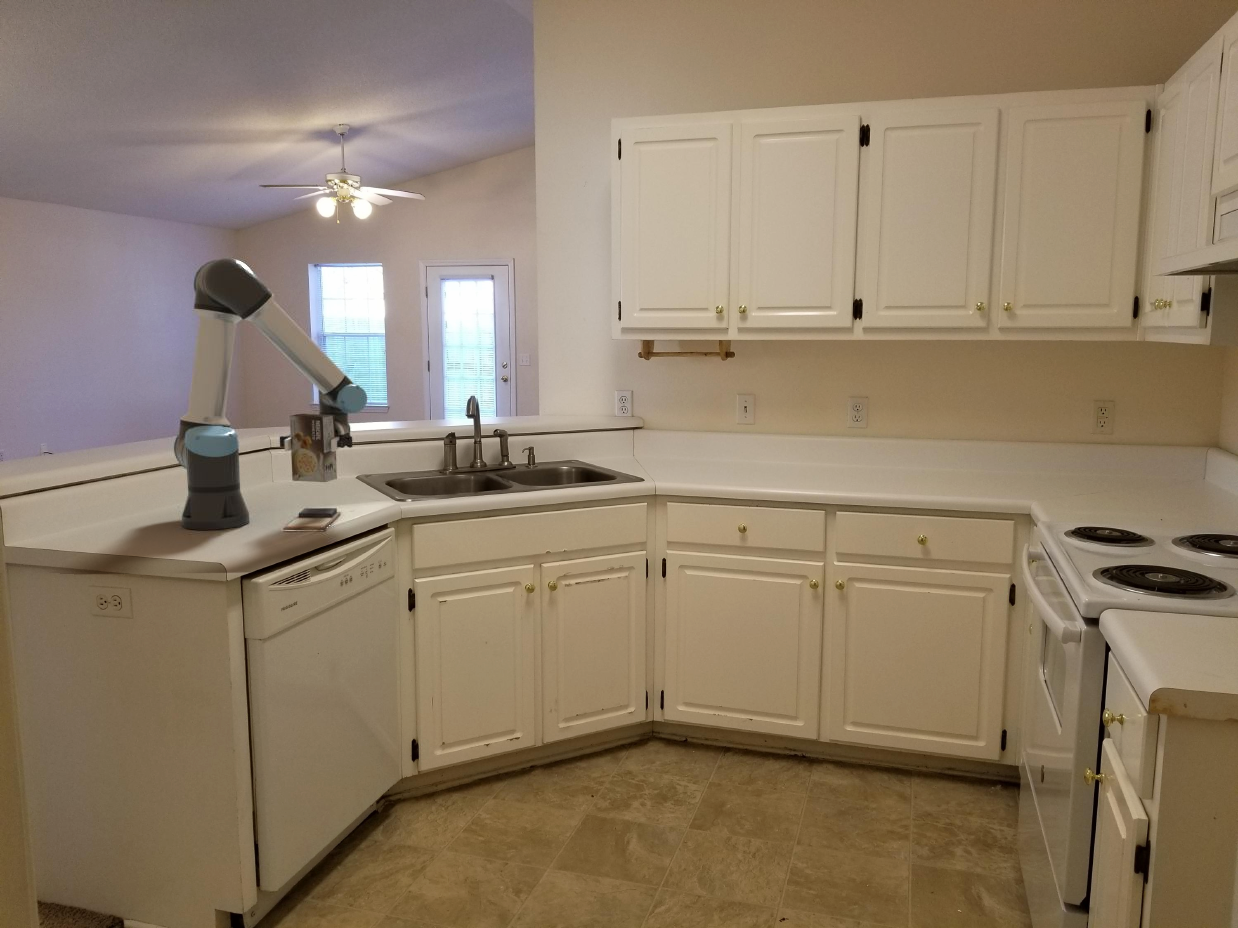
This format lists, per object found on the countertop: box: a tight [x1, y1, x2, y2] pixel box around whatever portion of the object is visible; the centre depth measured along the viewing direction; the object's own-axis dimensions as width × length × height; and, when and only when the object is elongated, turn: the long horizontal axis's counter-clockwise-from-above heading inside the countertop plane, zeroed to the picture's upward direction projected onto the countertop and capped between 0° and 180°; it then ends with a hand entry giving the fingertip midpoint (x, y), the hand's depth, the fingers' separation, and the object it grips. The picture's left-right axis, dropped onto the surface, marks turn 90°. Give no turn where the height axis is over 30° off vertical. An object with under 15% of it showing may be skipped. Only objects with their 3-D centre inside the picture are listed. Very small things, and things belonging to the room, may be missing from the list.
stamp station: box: [282, 507, 342, 531], centre depth 222 cm, size 10×18×2 cm, turn 6°
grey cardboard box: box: [289, 413, 338, 483], centre depth 220 cm, size 9×6×16 cm
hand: (309, 445), depth 215 cm, fingers closed on grey cardboard box, 10 cm apart
